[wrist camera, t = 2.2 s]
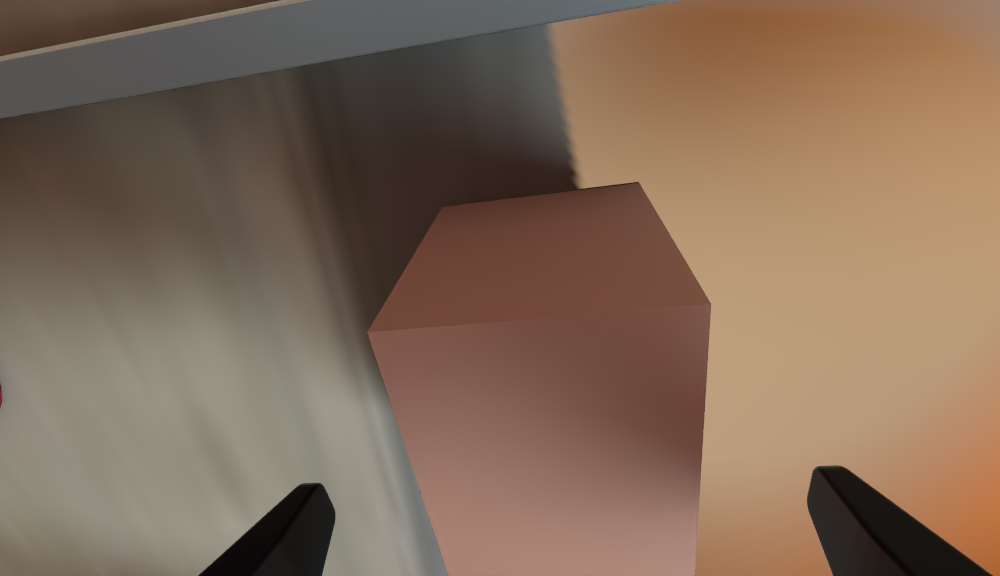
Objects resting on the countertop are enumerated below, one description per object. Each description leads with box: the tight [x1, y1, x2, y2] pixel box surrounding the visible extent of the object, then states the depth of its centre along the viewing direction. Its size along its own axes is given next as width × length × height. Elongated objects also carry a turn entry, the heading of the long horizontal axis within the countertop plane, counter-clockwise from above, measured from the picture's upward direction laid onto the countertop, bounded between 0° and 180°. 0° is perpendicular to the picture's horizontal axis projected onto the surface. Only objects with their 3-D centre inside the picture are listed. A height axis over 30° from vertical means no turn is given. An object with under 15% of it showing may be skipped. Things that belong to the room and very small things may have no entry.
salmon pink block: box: [367, 182, 711, 576], centre depth 11 cm, size 5×8×6 cm
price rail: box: [0, 0, 679, 119], centre depth 11 cm, size 1×32×2 cm, turn 99°
